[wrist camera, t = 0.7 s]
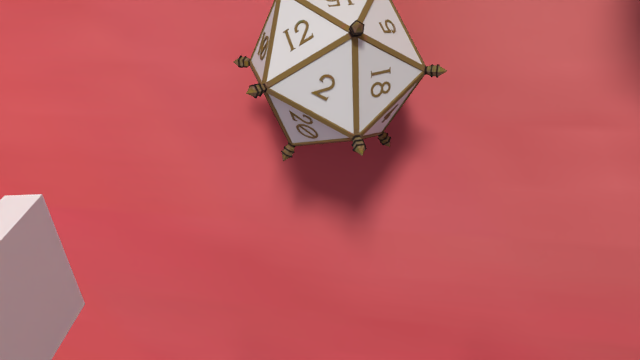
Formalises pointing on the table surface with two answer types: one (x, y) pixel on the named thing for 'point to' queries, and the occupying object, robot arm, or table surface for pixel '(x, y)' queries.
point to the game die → (335, 69)
